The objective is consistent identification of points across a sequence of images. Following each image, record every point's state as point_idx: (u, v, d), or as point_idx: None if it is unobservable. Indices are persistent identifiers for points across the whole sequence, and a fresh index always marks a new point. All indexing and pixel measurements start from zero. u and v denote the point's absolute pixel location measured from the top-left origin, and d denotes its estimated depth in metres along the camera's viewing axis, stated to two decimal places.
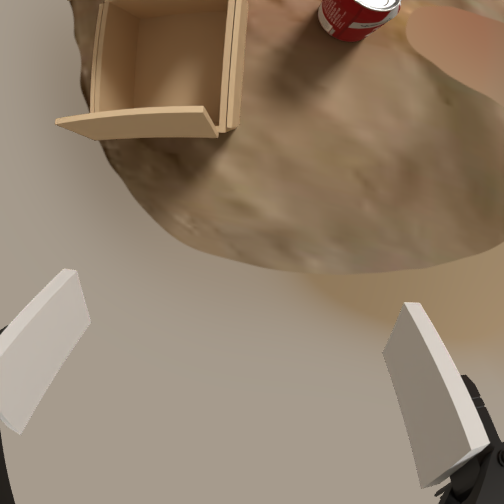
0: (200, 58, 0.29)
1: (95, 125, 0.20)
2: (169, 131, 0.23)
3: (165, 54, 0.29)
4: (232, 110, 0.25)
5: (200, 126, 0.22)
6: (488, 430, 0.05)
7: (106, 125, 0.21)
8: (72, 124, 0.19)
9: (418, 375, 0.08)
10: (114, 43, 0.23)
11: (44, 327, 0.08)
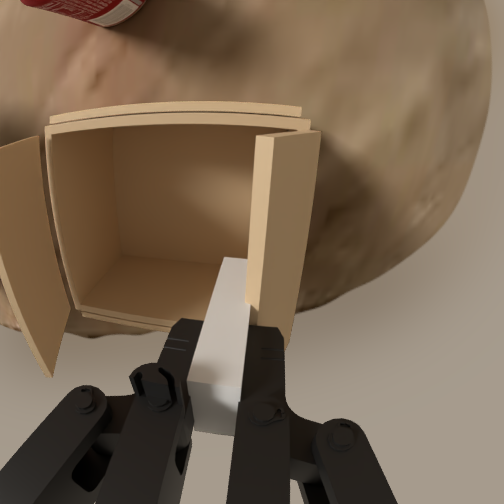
0: (183, 169, 0.23)
1: None
2: (302, 221, 0.13)
3: (174, 219, 0.25)
4: (268, 105, 0.13)
5: (302, 156, 0.10)
6: (273, 384, 0.07)
7: None
8: None
9: None
10: (144, 295, 0.22)
11: None
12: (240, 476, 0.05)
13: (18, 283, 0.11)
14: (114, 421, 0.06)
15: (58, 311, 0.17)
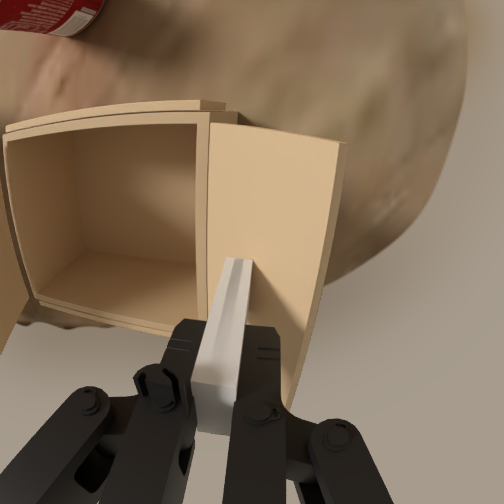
0: (132, 168, 0.23)
1: None
2: None
3: (127, 216, 0.25)
4: (169, 101, 0.13)
5: None
6: (269, 384, 0.07)
7: None
8: None
9: None
10: (92, 288, 0.22)
11: None
12: (236, 476, 0.05)
13: None
14: (117, 422, 0.06)
15: (13, 298, 0.17)
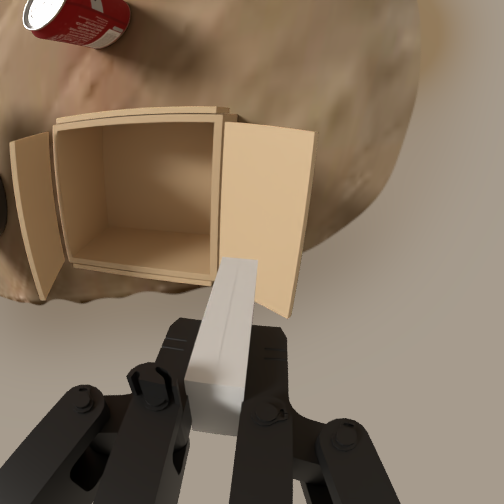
0: (153, 157, 0.30)
1: None
2: None
3: (147, 196, 0.32)
4: (194, 107, 0.20)
5: None
6: (276, 384, 0.07)
7: None
8: None
9: None
10: (120, 251, 0.28)
11: None
12: (243, 476, 0.05)
13: (30, 226, 0.18)
14: (112, 420, 0.06)
15: (55, 257, 0.23)
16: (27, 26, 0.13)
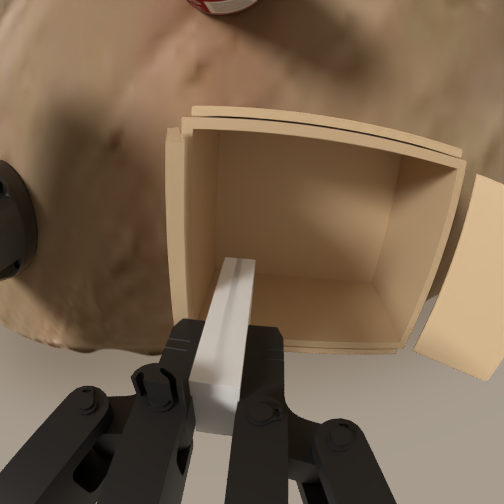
0: (300, 182, 0.23)
1: None
2: None
3: (283, 233, 0.25)
4: (440, 143, 0.13)
5: None
6: (272, 384, 0.07)
7: None
8: None
9: None
10: (265, 315, 0.22)
11: None
12: (238, 476, 0.05)
13: None
14: (115, 421, 0.06)
15: None
16: None
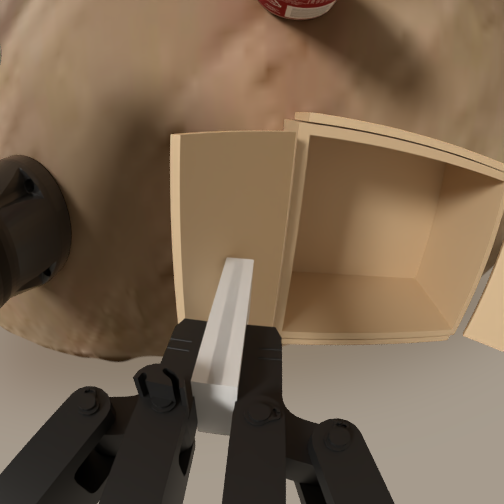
0: (363, 187, 0.24)
1: None
2: None
3: (345, 234, 0.26)
4: (495, 161, 0.14)
5: None
6: (270, 384, 0.07)
7: None
8: None
9: None
10: (340, 312, 0.22)
11: None
12: (236, 476, 0.05)
13: (200, 305, 0.12)
14: (118, 422, 0.06)
15: None
16: None
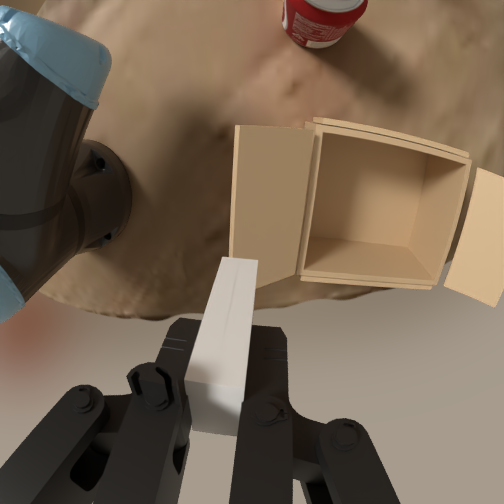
0: (362, 172, 0.31)
1: None
2: None
3: (349, 208, 0.34)
4: (456, 149, 0.21)
5: None
6: (276, 384, 0.07)
7: None
8: None
9: None
10: (346, 262, 0.30)
11: None
12: (243, 476, 0.05)
13: (244, 221, 0.21)
14: (112, 420, 0.06)
15: (277, 266, 0.25)
16: None
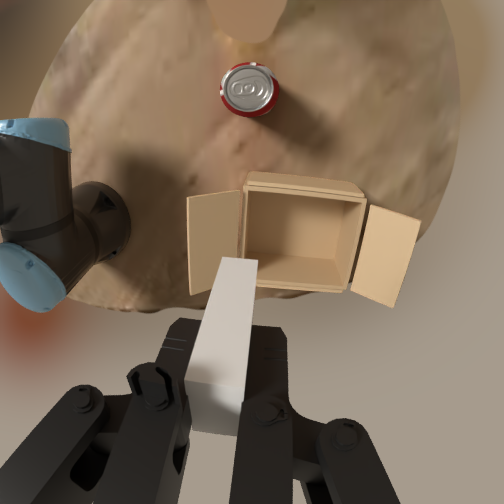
0: (292, 206, 0.46)
1: None
2: None
3: (284, 232, 0.48)
4: (352, 192, 0.36)
5: None
6: (276, 384, 0.07)
7: None
8: None
9: None
10: (275, 272, 0.45)
11: None
12: (243, 476, 0.05)
13: (195, 250, 0.36)
14: (112, 420, 0.06)
15: None
16: (229, 102, 0.30)
